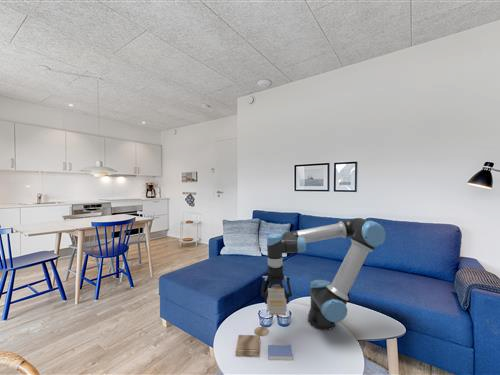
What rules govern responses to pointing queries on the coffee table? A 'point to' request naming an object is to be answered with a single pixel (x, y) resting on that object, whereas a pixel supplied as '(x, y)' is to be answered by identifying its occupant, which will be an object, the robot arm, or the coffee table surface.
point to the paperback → (280, 352)
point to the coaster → (261, 331)
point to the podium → (248, 345)
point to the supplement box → (276, 300)
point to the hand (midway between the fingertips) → (276, 309)
